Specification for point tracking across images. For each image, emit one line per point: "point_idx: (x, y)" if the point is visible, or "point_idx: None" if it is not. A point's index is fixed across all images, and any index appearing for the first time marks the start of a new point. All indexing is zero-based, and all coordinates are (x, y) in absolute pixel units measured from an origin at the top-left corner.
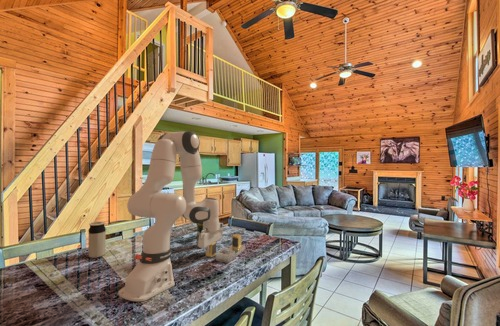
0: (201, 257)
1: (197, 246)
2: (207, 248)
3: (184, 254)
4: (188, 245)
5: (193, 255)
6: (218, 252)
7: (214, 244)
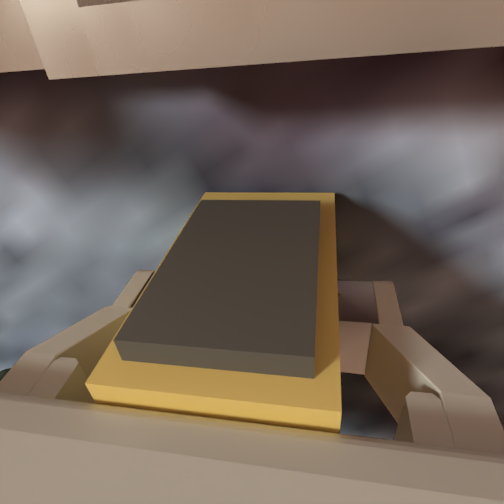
0: None
1: None
2: (454, 386)
3: None
4: None
5: (356, 406)
6: (418, 4)
7: (219, 351)
